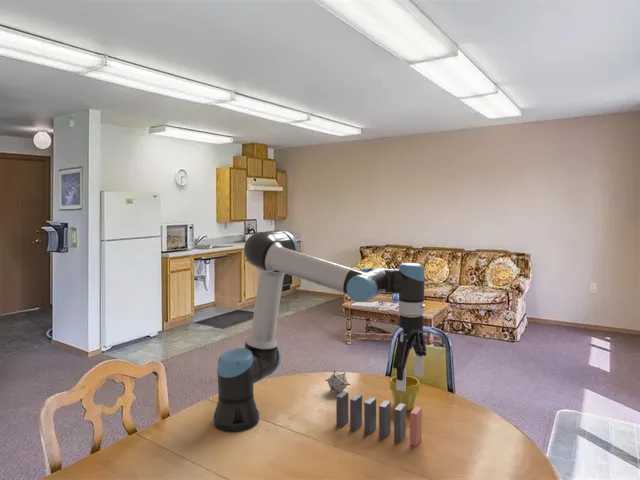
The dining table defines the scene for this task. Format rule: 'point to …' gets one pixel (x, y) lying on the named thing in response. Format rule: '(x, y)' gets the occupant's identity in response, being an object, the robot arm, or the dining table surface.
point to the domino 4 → (384, 418)
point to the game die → (337, 382)
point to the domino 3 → (370, 415)
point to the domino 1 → (342, 409)
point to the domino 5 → (399, 422)
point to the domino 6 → (415, 426)
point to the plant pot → (405, 392)
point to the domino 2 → (355, 412)
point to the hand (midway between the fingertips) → (410, 382)
